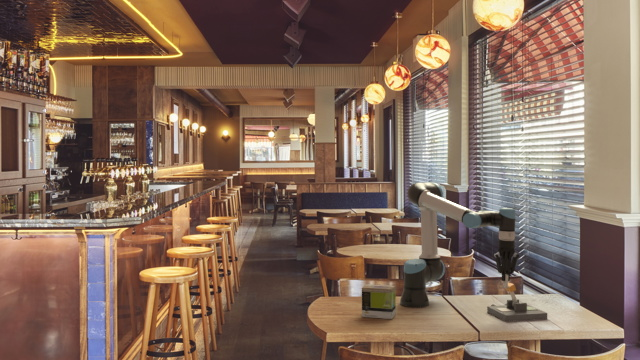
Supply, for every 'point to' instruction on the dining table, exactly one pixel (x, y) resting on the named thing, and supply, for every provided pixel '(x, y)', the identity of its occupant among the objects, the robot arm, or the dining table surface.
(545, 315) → the breaker box
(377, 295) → the tea box
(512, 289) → the breaker lever
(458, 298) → the dining table surface
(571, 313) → the dining table surface
